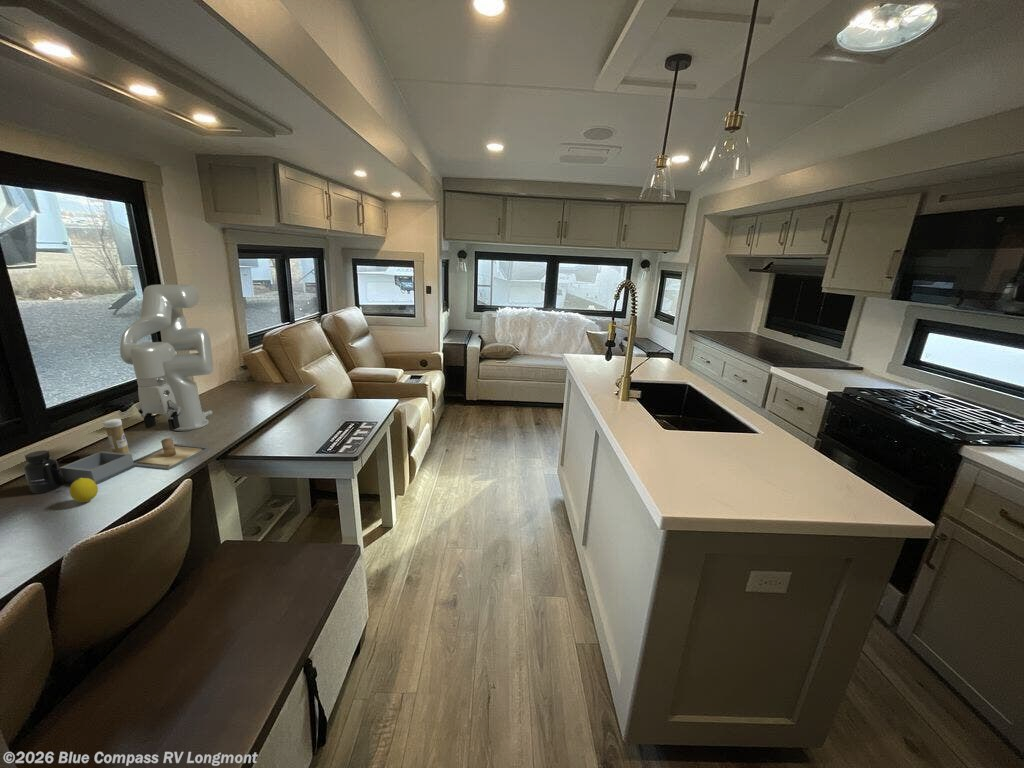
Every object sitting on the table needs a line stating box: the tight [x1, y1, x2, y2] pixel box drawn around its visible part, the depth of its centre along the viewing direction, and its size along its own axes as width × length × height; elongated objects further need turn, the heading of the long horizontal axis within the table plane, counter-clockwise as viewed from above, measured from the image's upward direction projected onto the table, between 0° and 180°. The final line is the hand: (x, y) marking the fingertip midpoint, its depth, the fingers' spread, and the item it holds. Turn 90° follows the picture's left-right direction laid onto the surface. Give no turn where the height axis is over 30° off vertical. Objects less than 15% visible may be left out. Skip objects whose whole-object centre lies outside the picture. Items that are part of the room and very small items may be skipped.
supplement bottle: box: [22, 449, 64, 494], centre depth 123 cm, size 7×7×12 cm
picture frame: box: [133, 443, 212, 471], centre depth 146 cm, size 17×17×1 cm
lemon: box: [69, 478, 99, 503], centre depth 117 cm, size 6×6×8 cm
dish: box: [59, 450, 136, 486], centre depth 133 cm, size 12×12×5 cm
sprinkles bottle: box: [103, 418, 131, 454], centre depth 145 cm, size 5×5×14 cm
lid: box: [136, 437, 203, 467], centre depth 145 cm, size 13×13×7 cm
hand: (163, 427), depth 142 cm, fingers open, 9 cm apart
